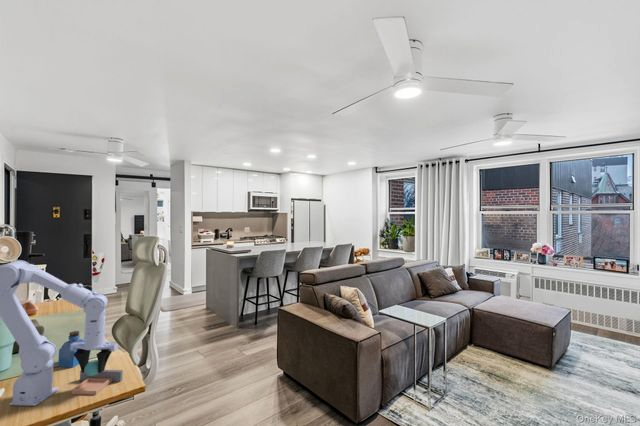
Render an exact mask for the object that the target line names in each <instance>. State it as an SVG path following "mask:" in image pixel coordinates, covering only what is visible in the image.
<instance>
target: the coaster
mask: <svg viewBox="0 0 640 426" xmlns="http://www.w3.org/2000/svg"><path fill="white" fill-rule="evenodd" d="M111 383H113V382H112V378H87V379H86V380H85V381H81V383H79V384H78V385H76V386H75V387H74V388H72V389H71V392H70V393H71V394H72V395H90V396H91V395H97V394H99V393H100V392H101V391H103V389H105V388H106V387H107V386H108V385H109V384H111Z"/></svg>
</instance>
